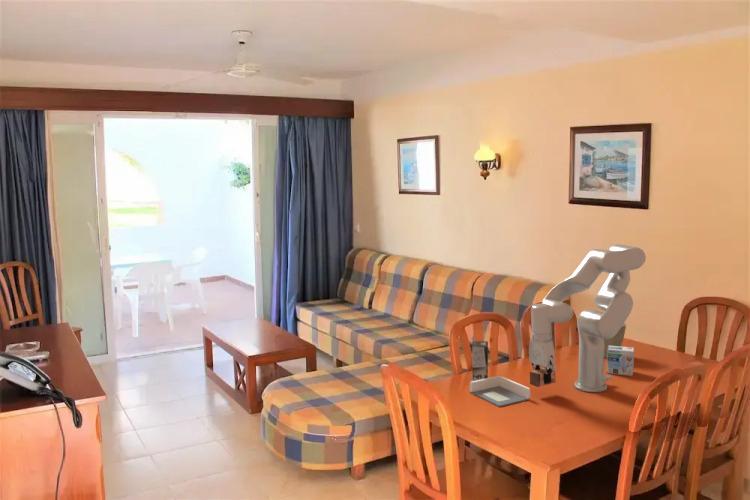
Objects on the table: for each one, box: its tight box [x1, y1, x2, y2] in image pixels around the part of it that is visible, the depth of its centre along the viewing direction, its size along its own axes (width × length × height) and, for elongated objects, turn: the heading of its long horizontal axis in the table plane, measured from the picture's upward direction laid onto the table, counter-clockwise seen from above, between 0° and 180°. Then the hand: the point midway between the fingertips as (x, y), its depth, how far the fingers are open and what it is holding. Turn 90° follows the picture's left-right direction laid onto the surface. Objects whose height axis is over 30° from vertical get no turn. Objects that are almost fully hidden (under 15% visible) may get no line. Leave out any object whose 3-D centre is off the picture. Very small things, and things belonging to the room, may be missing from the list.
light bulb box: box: [606, 345, 635, 377], centre depth 276 cm, size 11×7×11 cm, turn 68°
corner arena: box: [469, 374, 531, 408], centre depth 251 cm, size 15×18×4 cm
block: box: [529, 367, 557, 388], centre depth 251 cm, size 9×4×5 cm, turn 118°
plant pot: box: [603, 321, 627, 359], centre depth 299 cm, size 15×15×16 cm
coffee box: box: [471, 340, 489, 381], centre depth 268 cm, size 9×6×16 cm
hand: (542, 380), depth 251 cm, fingers closed on block, 4 cm apart
